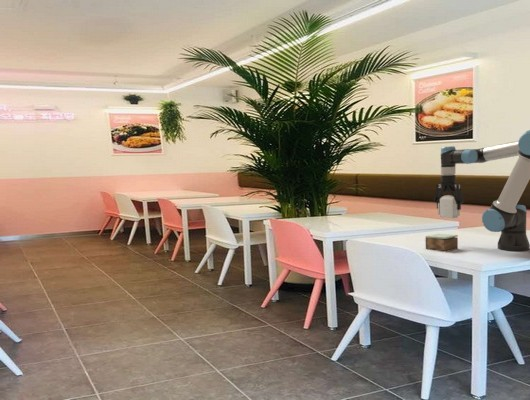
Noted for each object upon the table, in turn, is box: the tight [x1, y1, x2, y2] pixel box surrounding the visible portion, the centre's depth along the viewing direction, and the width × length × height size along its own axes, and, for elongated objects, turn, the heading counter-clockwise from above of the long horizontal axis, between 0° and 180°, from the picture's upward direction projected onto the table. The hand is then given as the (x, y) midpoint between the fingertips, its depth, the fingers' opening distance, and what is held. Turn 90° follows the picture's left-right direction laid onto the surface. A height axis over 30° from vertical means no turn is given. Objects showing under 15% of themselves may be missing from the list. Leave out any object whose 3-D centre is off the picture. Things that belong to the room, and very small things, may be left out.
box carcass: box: [425, 237, 459, 252], centre depth 269 cm, size 12×11×6 cm
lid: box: [425, 233, 458, 239], centre depth 269 cm, size 12×11×1 cm
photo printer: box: [439, 194, 459, 219], centre depth 278 cm, size 10×4×12 cm, turn 29°
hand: (448, 215), depth 278 cm, fingers closed on photo printer, 10 cm apart
